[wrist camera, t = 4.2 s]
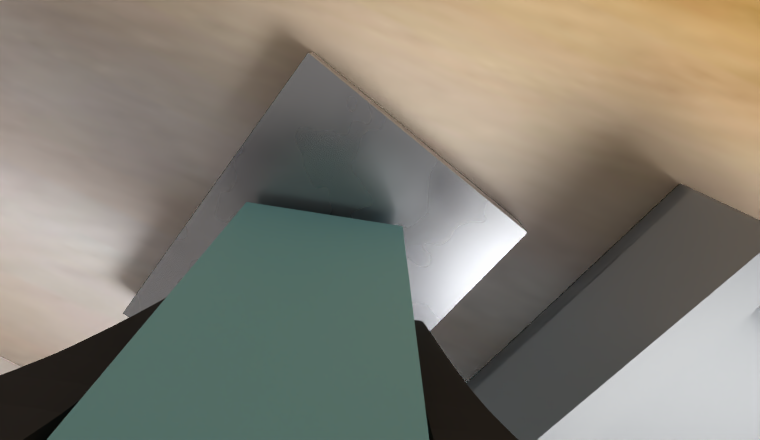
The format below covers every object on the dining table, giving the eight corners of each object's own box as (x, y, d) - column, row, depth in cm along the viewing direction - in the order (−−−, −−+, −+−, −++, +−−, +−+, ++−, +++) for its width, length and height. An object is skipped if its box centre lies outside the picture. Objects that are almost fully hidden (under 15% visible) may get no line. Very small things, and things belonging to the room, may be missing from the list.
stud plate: (328, 416, 18) (319, 486, 15) (137, 297, 16) (86, 352, 13) (517, 220, 15) (550, 261, 12) (313, 51, 13) (295, 54, 10)
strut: (377, 355, 15) (374, 759, 6) (237, 335, 15) (43, 731, 6) (402, 226, 13) (441, 536, 5) (246, 201, 13) (7, 485, 5)
